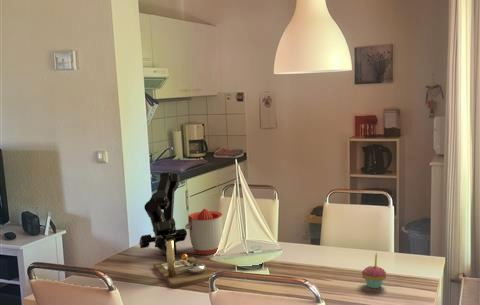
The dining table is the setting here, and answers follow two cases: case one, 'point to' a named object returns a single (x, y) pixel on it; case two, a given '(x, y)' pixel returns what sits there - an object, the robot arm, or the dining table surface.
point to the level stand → (182, 273)
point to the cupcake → (374, 275)
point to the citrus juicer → (205, 231)
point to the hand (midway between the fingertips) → (168, 256)
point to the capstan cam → (191, 268)
